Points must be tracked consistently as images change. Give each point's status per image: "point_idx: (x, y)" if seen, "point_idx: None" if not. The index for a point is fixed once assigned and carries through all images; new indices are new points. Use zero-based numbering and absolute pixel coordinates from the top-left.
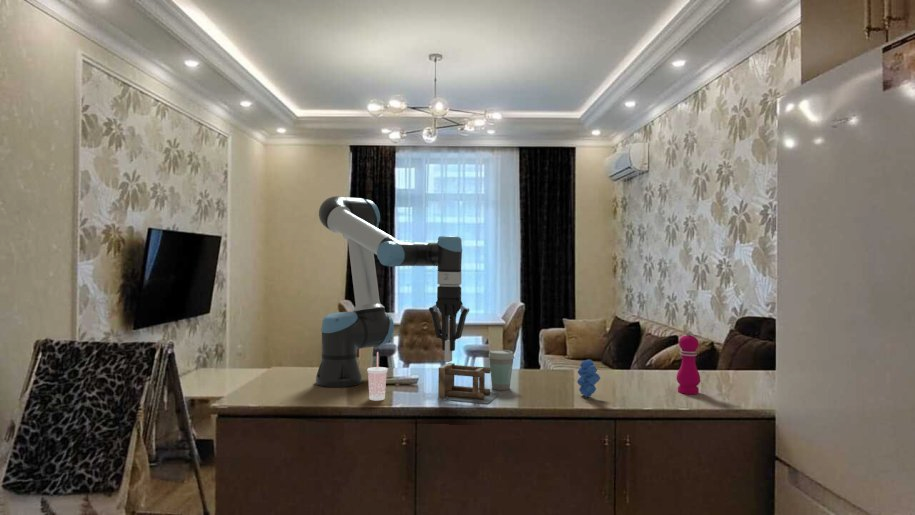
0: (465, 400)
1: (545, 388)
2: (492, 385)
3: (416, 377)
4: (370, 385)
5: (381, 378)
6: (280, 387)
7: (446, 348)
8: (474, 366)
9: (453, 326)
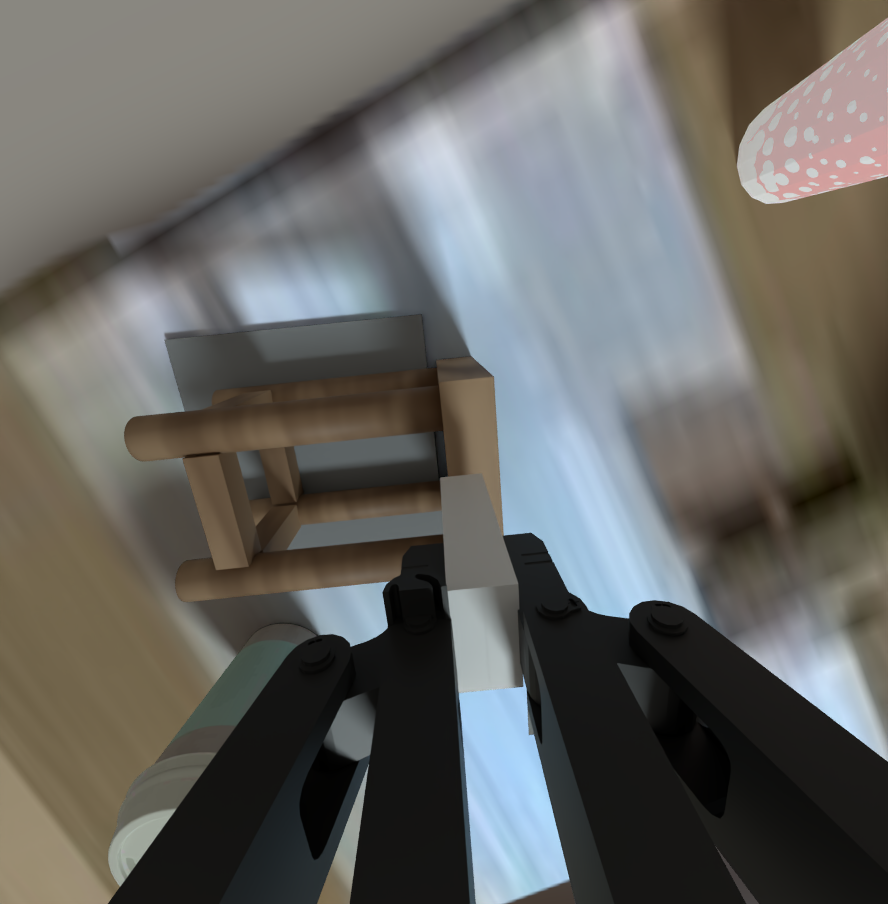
0: (297, 337)
1: (117, 729)
2: None
3: None
4: None
5: (878, 32)
6: None
7: (479, 530)
8: (291, 580)
9: (352, 895)
